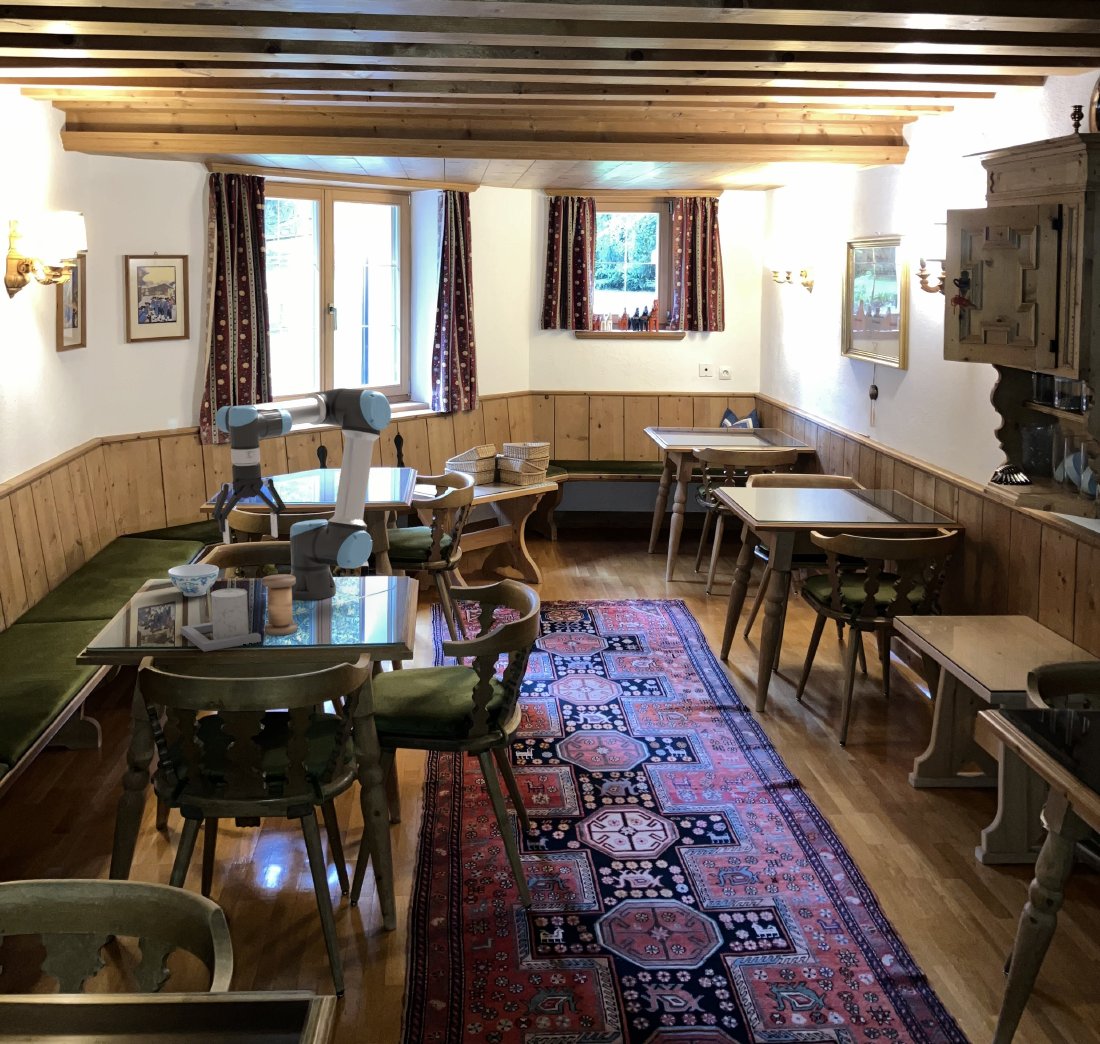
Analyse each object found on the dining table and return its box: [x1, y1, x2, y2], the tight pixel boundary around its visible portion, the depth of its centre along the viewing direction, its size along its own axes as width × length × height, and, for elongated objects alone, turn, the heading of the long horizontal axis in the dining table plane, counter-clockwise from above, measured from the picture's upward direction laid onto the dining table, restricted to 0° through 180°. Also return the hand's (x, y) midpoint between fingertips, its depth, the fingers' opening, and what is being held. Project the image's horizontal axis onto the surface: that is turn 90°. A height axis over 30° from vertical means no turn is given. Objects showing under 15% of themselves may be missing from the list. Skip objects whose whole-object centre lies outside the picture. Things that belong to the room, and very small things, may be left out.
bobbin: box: [261, 573, 298, 636], centre depth 321 cm, size 9×9×15 cm
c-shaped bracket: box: [180, 621, 262, 653], centre depth 315 cm, size 19×16×2 cm
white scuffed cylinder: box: [210, 587, 250, 640], centre depth 316 cm, size 10×10×12 cm
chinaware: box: [167, 563, 220, 598], centre depth 360 cm, size 15×15×8 cm
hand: (251, 540), depth 318 cm, fingers open, 13 cm apart
